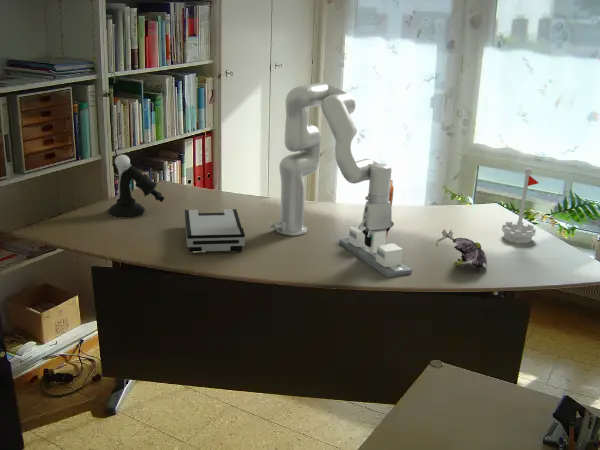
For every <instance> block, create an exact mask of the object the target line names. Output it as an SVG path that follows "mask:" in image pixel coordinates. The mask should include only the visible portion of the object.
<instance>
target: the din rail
mask: <svg viewBox="0 0 600 450" xmlns="http://www.w3.org/2000/svg"><path fill="white" fill-rule="evenodd" d="M347 239H349V237H347ZM360 248H362V249H363V250H364V251H366V252H367V253H369V254H370V255H372V256H373V257H374V258H376V253H372V252H371V251H369V250H368V249H366V248H365V246H363V247H360ZM389 268H390V269H392V270H393V271H395V272H396V271H402V270H403V269H402V268H400V267H399V266H397V265H396V266H390V267H389Z"/></svg>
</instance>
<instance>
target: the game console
mask: <svg viewBox="0 0 600 450" xmlns="http://www.w3.org/2000/svg"><path fill="white" fill-rule="evenodd" d="M184 222H185V226H184V227H185V238H186V241H185V242H186V247H187V248H188V249H189V250H190V252H193V251H206V252H225V251H242V250H243V247H245V239H246V238H245V237H246V235H245V232H244V228H243V227H242V224H241V220H240V217H239V214H238V211H237V208H228V209H227V208H224V209H223V212H199V210H198V209H184ZM189 250H188V251H189ZM190 252H189V253H190Z"/></svg>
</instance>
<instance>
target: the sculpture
mask: <svg viewBox="0 0 600 450" xmlns="http://www.w3.org/2000/svg"><path fill="white" fill-rule="evenodd" d="M114 164H115V167H116V169H117V170H118V189H117V190H118V194H117V195H116V197H115V199H114V201H116V203H114V204H113V205H111V206H110V208H108V210H107V214H108V213H109V214H110V215H112V216H111V217H113V216H116V217H115V218H117V217H133V218H136V217H135V216H138V217H140V216H142V215H144V214H145V213H144V212H146V211H145V209H146V208H145V207H144V206H142V204H140V203H138V202H136V199H135V198H133V196H132V193H131V185H130V183H131V180H133V181H134V182H135V187H137V188H139V189H140V190H141V191H142V192H143V195H144V197H146V196H149V195H153V196H154V199H155V200H156V201H159V202H161V203H162V202H163V201H164V200H165V197H164V196H163V195H162V193H161V191H157V190H156V187H157V184H158V182H155V181H153V180H151V179H150V178H149V176H148V175H147V173H145V174H143V173H142V172H141V171H140V170H139V169H138V168H137V167H136V166H134V165H132V164H131V159H130V158H129V156H128V155H127V154H126V155H125V154H119V155H117V156H116V157H115V159H114ZM143 213H144V214H143ZM109 214H108V215H109ZM141 214H142V215H141ZM110 215H109V216H110ZM139 215H140V216H139Z"/></svg>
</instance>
